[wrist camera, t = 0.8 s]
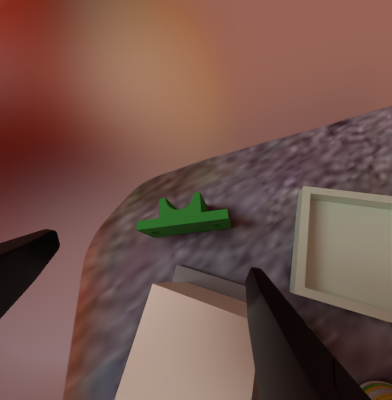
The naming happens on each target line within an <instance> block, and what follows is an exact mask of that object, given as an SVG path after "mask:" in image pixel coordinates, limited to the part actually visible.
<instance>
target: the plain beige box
mask: <svg viewBox="0 0 392 400" xmlns="http://www.w3.org/2000/svg"><path fill="white" fill-rule="evenodd" d="M115 400H260V398H259V391H258V385H257V379H256V372H255V366H254V360H253V353H252V347H251V341H250V334H249V328H248V320H247V304H246V286H245V285H241V284H238V283H235V282H232V281H229V280H225V279H222V278H219V277H216V276H213V275H209V274H206V273H203V272H200V271H197V270H193V269H190V268H187V267H184V266H181V265H177V267H176V270H175V273H174V277H173V280H172V282H168V283H153V284H152V287H151V291H150V294H149V297H148V300H147V303H146V306H145V309H144V312H143V315H142V318H141V321H140V324H139V327H138V330H137V333H136V336H135V339H134V342H133V345H132V348H131V352H130V355H129V358H128V361H127V364H126V367H125V370H124V373H123V376H122V379H121V382H120V385H119V388H118V391H117V394H116V397H115Z"/></svg>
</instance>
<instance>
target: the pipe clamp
mask: <svg viewBox="0 0 392 400" xmlns="http://www.w3.org/2000/svg"><path fill="white" fill-rule="evenodd" d="M230 228H231V222H230V217H229V214H228V210H227V209H222V210H215V211H208V212H207V205H206V203H205V201H204V199H203V197H202V195H201V194H200V192H198V193H194V197H193V200H192V202H191V203H190V204H189V205H188V206H187V207H185V208H183V209H179V210H177V209H176V208H175V207H174V206H173V205H172V204H171V203H170V202H169V201H168V200H167V199H166V198H161V199H160V211H159V218H157V219H150V220H143V221H137V228H136V230H137V231H140V232H142V233H144V234H147V235H149V236H151V237H160V236H168V235H177V234H186V233H195V232H203V231H212V230H221V229H230Z"/></svg>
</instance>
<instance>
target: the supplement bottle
mask: <svg viewBox="0 0 392 400" xmlns="http://www.w3.org/2000/svg"><path fill="white" fill-rule="evenodd" d="M360 387H361V388H362V389H363V390H364V391H365V393H366V394H367V395H368V396H369V397H370V398H371V399H372V400H392V384H389V383H386V382H382V381H368V382H365V383H363V384H361V385H360Z"/></svg>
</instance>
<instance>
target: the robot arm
mask: <svg viewBox="0 0 392 400" xmlns="http://www.w3.org/2000/svg"><path fill="white" fill-rule="evenodd" d="M59 246H60V243H59V239H58V235H57V232H56V231H54V230H49V229H44V230H41V231H38V232H35V233H31V234H28V235H25V236H22V237H18V238H15V239H12V240H9V241H6V242H2V243H0V318H1V317H2V316H3V315H4V314H5V313H6V312H7V311H8V310H9V308H10V307H11V306H12V305H13V304H14V303H15V302H16V301H17V300H18V299H19V297H20V296H21V295H22V294H23V293H24V292H25V291H26V290H27V289H28V287H29V286H30V285H31V284H32V283H33V282H34V280H35V279H36V278H37V277H38V276H39V274H40V273H41V272H42V270H43V269H44V268H45V266H46V265H47V264H48V263H49V261H50V260H51V259H52V257H53V256H54V255H55V253H56V252H57V251H58V249H59ZM245 286H246V304H247V320H248V328H249V334H250V341H251V347H252V353H253V360H254V366H255V372H256V379H257V385H258V391H259V398H260V400H372V399H371V398H370V397H369V396H368V395H367V394H366V393H365V391H364V390H363V389H362V388H361V387H360V386H359V384H358V383H357V382H356V381H355V380H354V379H353V378H352V376H351V375H350V374H349V373H348V372H347V371H346V369H345V368H344V367H343V366H342V365H341V363H340V362H339V361H338V360H337V359H336V357H334V356H333V355H332V353H331V352H330V350H329V349H328V348H327V347H326V346H325V344H324V343H323V342H322V341H321V340H320V339H319V337H318V336H317V335H316V334H315V333H314V331H313V330H312V329H311V328H310V327H309V325H308V324H307V323H306V322H305V321H304V319H303V318H302V317H301V316H300V315H299V313H298V312H297V311H296V310H295V309H294V308H293V306H292V305H291V304H290V303H289V302H288V300H287V299H286V298H285V297H284V296H283V294H282V293H281V292H280V291H279V290H278V288H277V287H276V286H275V285H274V284H273V282H272V281H271V280H270V279H269V278H268V277H267V275H266V274H265V273H264V272H263V271H262V270H261V269H260V268H255V267H252V268H251V269H250V271H249V273H248V276H247V278H246V284H245Z"/></svg>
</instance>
